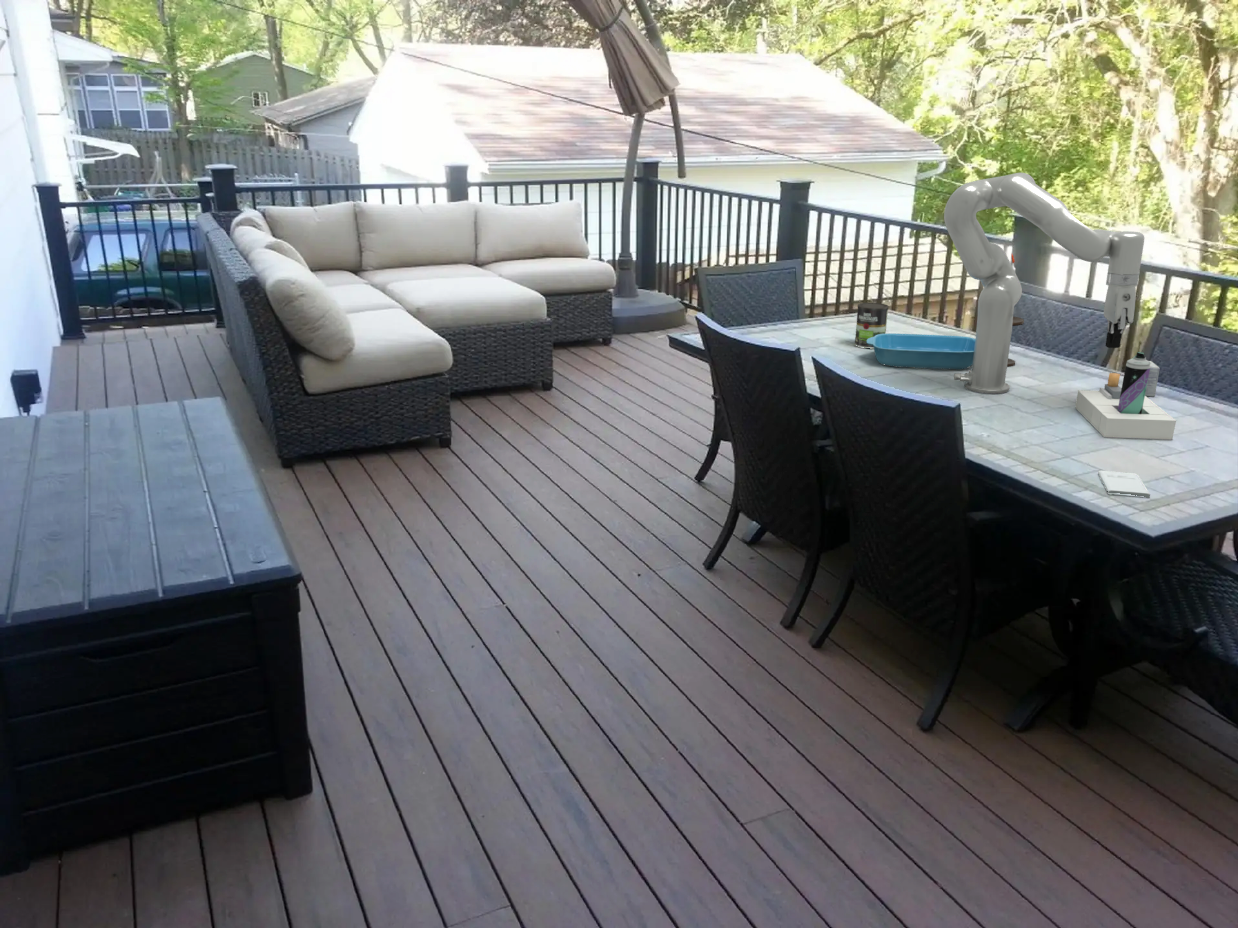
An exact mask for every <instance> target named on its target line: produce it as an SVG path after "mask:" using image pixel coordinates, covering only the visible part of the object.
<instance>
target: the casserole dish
mask: <svg viewBox="0 0 1238 928" xmlns="http://www.w3.org/2000/svg"><path fill="white" fill-rule="evenodd" d="M975 339H976V338H973V337H971V336H964V335H963V336H961V335H947V334H946V335H945V334H944V335H943V334H942V335H941V334H921V333H920V334H918V333H897V332H896V333H892V332H891V333H887V332H886V334H878V335H876V336H874V337H871V338H868V339H867V341H866V342H867V344H868V345H871V346H873V347H874V349H873V350H874V355H875V358H876V360H877V362H878V363H879V364H880V365H883V364H885V365H884V366H886V365H890V366H889V367H893V366H897V367H896V368H908V367H915V368H914V369H928V370H929V369H932V370H951V371H952V370H954V371H955V370H957V371H958V370H966V369H968V368H970V367H972V363H973V355H974V347H975Z"/></svg>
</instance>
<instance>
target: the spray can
mask: <svg viewBox="0 0 1238 928" xmlns="http://www.w3.org/2000/svg"><path fill="white" fill-rule="evenodd" d="M1148 361H1149V360H1147V357H1146V356H1145V353H1144V352H1142V351H1137V352H1136V354H1135V355H1134V356H1133V358H1130V359H1128V360H1127V361H1126V364H1125V368H1124V373H1123V374H1124V375H1123V379H1122V384H1121V388H1122V389H1121V395H1120V400H1119V406H1118V412H1120V413H1121V414H1141V413H1142V408H1143V403H1144V398H1145V392H1146V387H1147V382H1148V377H1149V372H1150V364H1151V363H1150V362H1148Z"/></svg>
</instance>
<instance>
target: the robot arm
mask: <svg viewBox="0 0 1238 928" xmlns="http://www.w3.org/2000/svg"><path fill="white" fill-rule="evenodd" d="M1001 207H1002V208H1003V207H1008V208H1010V210H1012V211H1013V212H1015V213H1017V214H1019V216H1021V217H1023V218H1024V219H1026V220H1027V221H1029V222H1030V223H1032V224H1033V225H1034V226H1036V227H1038V228H1039V229H1040V231H1042V232H1043V233H1044V234H1046V235H1047V236H1048V237H1049V238H1050V239H1052V240H1053V241H1054V242H1056V243H1057V244H1058V245H1060V246H1061V247H1062V248H1063V249H1065V250H1067V251H1068V252H1069V253H1071V254H1072V255H1074V256H1075V257H1077V258H1079V259H1080V260H1082V261H1085V262H1089V263H1094V262H1097V261H1100V260H1102V259H1103V258H1107V257H1108V258H1109V261H1108V266H1107V267H1108V269H1107V274H1106V281H1105V285H1106V286H1107V289H1106V295H1105V299H1104V300H1105V301H1104V305H1103V306H1104V308H1103V317H1104V319H1106V321H1107V329H1106V330H1107V332H1106V338H1105V345H1104V346H1105V347H1106V348H1108V349H1119V348H1120V347H1121V342H1122V336H1123V335H1122V334H1123V330H1125V329H1126V323H1127V324H1129V325H1130V324H1132V323H1133V322H1134V317H1135V316H1134V315H1135V308H1136V295H1137V293H1136V287H1138V284H1139V277H1140V272H1141V271H1140V270H1141V264H1142V263H1141V262H1142V258H1143V252H1144V250H1143V249H1144V244H1145V235H1144V234H1143V233H1142V232H1138V231H1111V230H1107V229H1100V228H1099V229H1098V228H1097V229H1091V227H1088V225H1086V224H1084V223H1082V222H1081V221H1080V220H1078V219H1077V217H1074V215H1073V214H1072V213H1071V212H1070V210H1069V209H1068V208H1067V206H1066V205H1065V203H1064V202H1063V201H1062V200H1061V199H1059V198H1057V197H1056V196H1055V195H1053V194H1051V193H1050V192H1049V191H1047V190H1045V189H1044V188H1042V187H1041V186H1039V185H1038V184H1036V181H1035V180H1034V178H1033V176H1031V175H1030V174H1029V173H1025V172H1016V173H1012V174H1011V173H1010V174H1007V175H1002V176H994V177H991V178H983V179H977V180H974V181H970V182H966V183H964V184H962V185H961V186H959V187H957V189H955V191H953V193H952V194H951V195H950V196H949V198H948V200H947V202H946V204H945V208H944V210H943V211H944V212H943V213H944V214H943V218H944V225H945V228H946V230H947V232H948V235H949V237H950V239H951V241H952V243H953V245H954V248H955V249H956V252H957V253H958V256H959V258H960V259H961V262H962V263H963V266H964V268H965V270H966V273H967V274H968V275H969V276H970V278H972V279H974V280H978V281H980V283H981V285H982V286H983V288H982V290H981V292H980V293H979V297H978V300H977V301H978V302H977V322H976V331H975V338H974V339H975V347H974V355H973V363H972V365H971V369H969V370H968V372H965V373H956V372H955V373H954V375H953V380H954V381H959V382H964V388H965V389H966V390H968V391H972V392H975V393H980V394H994V395H995V394H1004V393H1008V392H1009V391H1010V389H1011V385H1010V384H1009V383H1007V382H1006V377H1007V370H1008V367H1007V363H1008V358H1009V354H1010V346H1011V339H1012V333H1013V332H1012V331H1013V326H1012V324H1013V316H1014V311H1015V306H1016V304H1018V302H1020V299H1021V297H1022V294H1023V289H1022V288H1023V287H1022V283H1021V282H1020V279H1019V277H1018V275H1017V274H1016V270H1015V271H1014V269H1013V267H1012V263H1011V261H1010V259H1009V258H1008V255H1007V254H1006V252H1005V251H1004V249H1003V248H1002V247H1001V245H998V244H996V243H994V242H990V241H989V239H988V238H987V236H986V233H985V231H984V229H983V227H982V225H981V224H980V222H979V220H978V219H977V213H978V212H981V211H984V210H988V209H994V208H995V209H996V208H1001Z"/></svg>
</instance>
